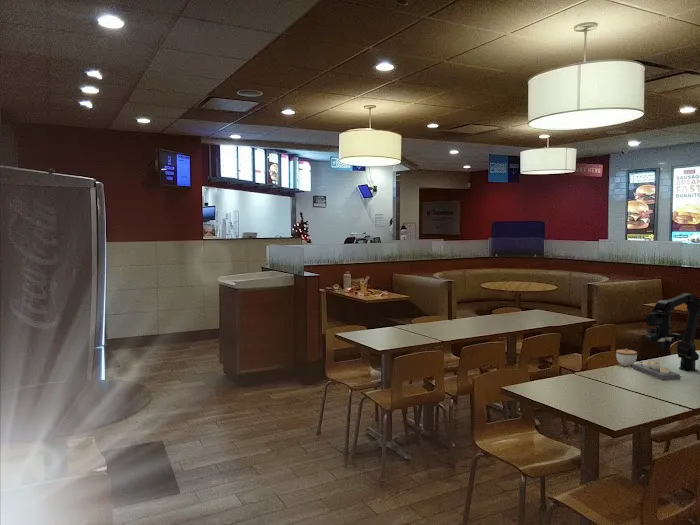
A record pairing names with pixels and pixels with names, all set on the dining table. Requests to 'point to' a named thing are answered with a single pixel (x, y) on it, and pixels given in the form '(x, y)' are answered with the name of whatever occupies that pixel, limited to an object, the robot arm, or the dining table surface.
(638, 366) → the board
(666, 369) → the button
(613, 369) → the dining table surface
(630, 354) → the lidded jar
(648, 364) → the button
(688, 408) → the dining table surface
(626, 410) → the dining table surface
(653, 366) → the button
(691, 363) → the robot arm
